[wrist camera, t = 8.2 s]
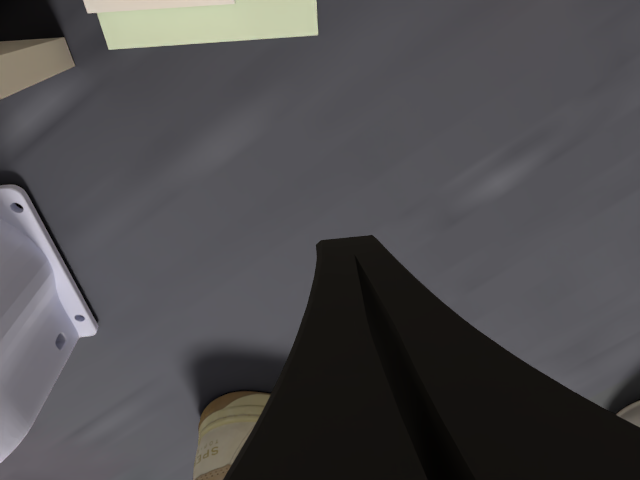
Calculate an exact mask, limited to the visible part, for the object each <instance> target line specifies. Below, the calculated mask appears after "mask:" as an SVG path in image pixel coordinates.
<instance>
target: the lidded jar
mask: <svg viewBox="0 0 640 480" xmlns="http://www.w3.org/2000/svg"><path fill="white" fill-rule="evenodd" d="M616 415H617V416H619V417H621V418H623V419H625V420H627V421H629V422H630V423H632V424H634V425H636V426H638V427H640V400H639V401H636V402H634V403H632V404H630V405H628V406H626V407H625V408H623V409H622V410H620V411H619V412H618V413H617V414H616Z"/></svg>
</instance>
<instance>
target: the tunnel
mask: <svg viewBox="0 0 640 480" xmlns="http://www.w3.org/2000/svg"><path fill="white" fill-rule="evenodd" d="M74 66H75V64H74V61H73V59H72V56H71V54H70V51H69V48H68V46H67V43H66V40H65V38H64V37H59V38H45V39H30V40H15V41H0V100H1V99H3V98H5V97H7V96H9V95H12V94H14V93H16V92H18V91H21V90H23V89H25V88H27V87H30V86H32V85H34V84H36V83H38V82H41V81H43V80H45V79H47V78H50V77H52V76H54V75H56V74H59V73H61V72H63V71H65V70H68V69H70V68H72V67H74Z"/></svg>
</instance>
